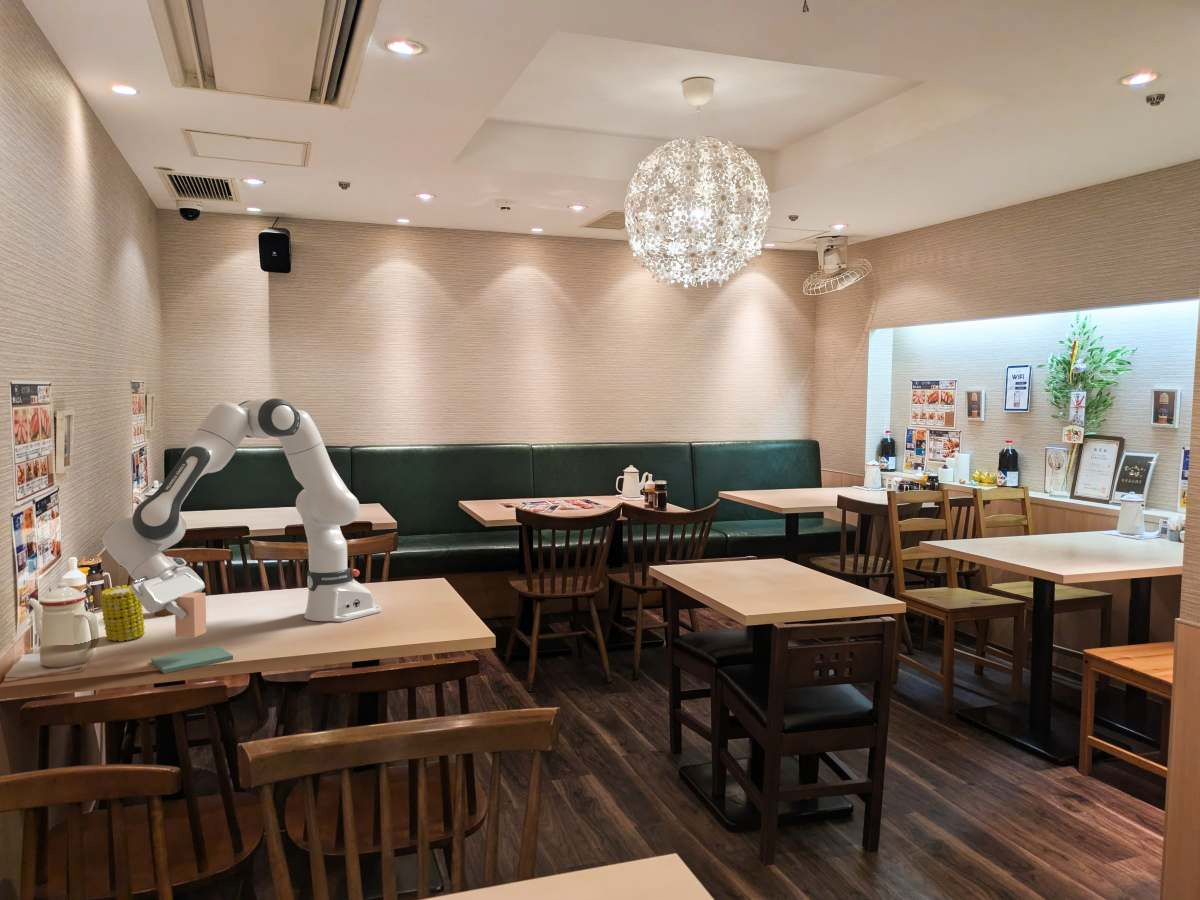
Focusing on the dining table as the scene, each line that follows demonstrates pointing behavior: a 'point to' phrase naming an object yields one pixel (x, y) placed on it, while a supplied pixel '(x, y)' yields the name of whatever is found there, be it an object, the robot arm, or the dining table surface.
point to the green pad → (191, 659)
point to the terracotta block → (191, 615)
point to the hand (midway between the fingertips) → (193, 613)
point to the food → (122, 613)
